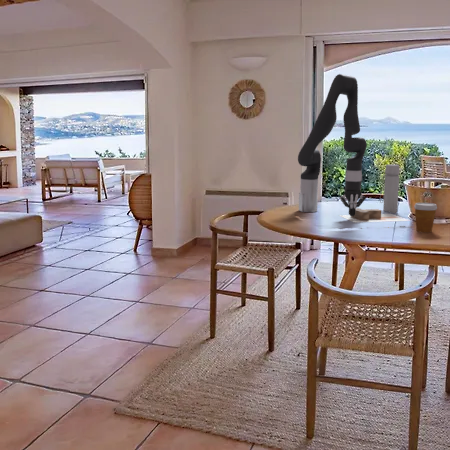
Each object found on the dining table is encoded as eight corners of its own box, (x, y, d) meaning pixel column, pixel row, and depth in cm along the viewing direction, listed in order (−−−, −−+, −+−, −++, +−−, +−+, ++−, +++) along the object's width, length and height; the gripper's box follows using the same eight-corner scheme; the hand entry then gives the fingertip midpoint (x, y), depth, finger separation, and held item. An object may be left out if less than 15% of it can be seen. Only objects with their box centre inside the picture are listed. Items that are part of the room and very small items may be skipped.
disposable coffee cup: (408, 229, 244) (410, 202, 242) (429, 228, 245) (431, 202, 243) (418, 233, 235) (419, 205, 233) (439, 233, 236) (441, 205, 234)
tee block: (360, 220, 259) (361, 212, 258) (350, 216, 270) (351, 208, 270) (384, 220, 261) (385, 211, 260) (373, 215, 272) (374, 207, 271)
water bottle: (397, 211, 292) (400, 164, 287) (397, 214, 285) (399, 165, 280) (379, 210, 295) (382, 164, 290) (378, 213, 288) (381, 165, 283)
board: (354, 225, 254) (354, 222, 254) (338, 217, 274) (338, 215, 273) (410, 223, 259) (410, 220, 259) (390, 216, 278) (391, 213, 278)
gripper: (363, 179, 265) (361, 214, 268) (337, 179, 263) (335, 215, 266) (369, 180, 258) (368, 216, 261) (343, 180, 256) (341, 217, 259)
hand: (351, 215), depth 264 cm, fingers closed
